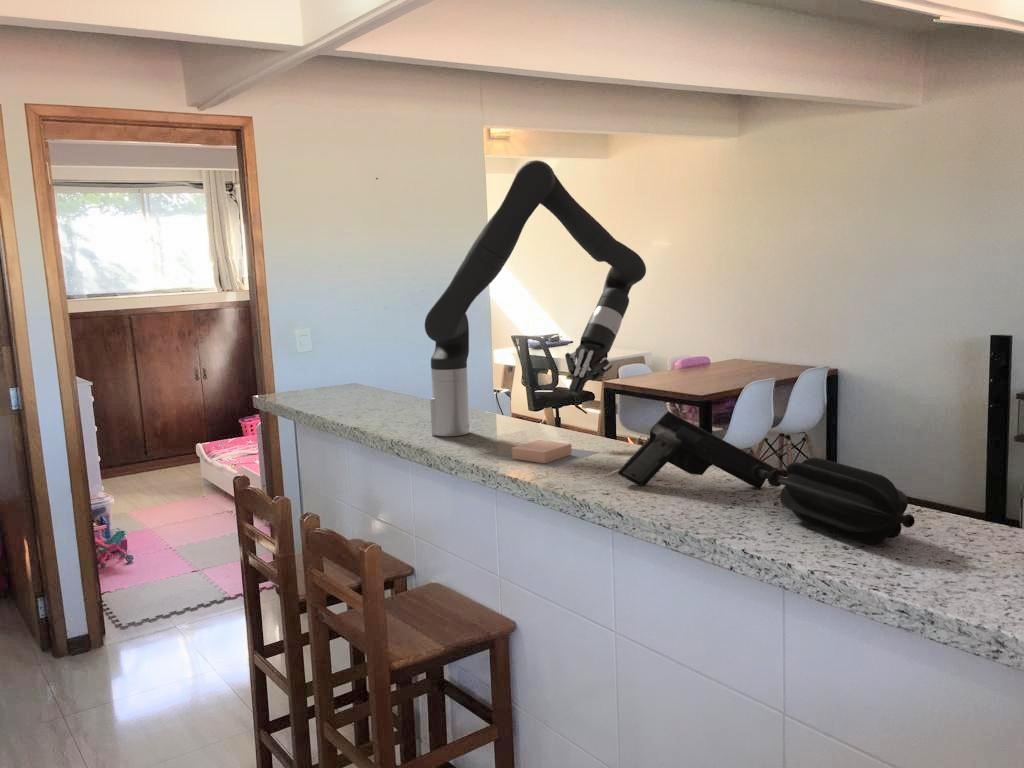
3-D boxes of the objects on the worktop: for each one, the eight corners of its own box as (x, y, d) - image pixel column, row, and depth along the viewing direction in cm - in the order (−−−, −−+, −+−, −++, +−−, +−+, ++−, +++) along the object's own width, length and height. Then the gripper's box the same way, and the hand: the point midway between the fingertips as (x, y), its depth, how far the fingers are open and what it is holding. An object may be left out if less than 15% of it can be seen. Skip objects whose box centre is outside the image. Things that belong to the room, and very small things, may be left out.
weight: (936, 551, 119) (939, 482, 118) (882, 562, 116) (884, 491, 114) (778, 495, 150) (778, 440, 149) (731, 502, 147) (731, 446, 145)
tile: (539, 450, 192) (512, 459, 184) (538, 439, 192) (511, 447, 184) (571, 455, 187) (545, 464, 179) (571, 443, 186) (544, 452, 179)
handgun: (731, 536, 157) (772, 468, 154) (617, 473, 160) (655, 405, 156) (731, 532, 159) (771, 465, 156) (618, 470, 162) (655, 403, 159)
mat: (496, 459, 186) (496, 458, 186) (541, 446, 199) (541, 444, 199) (555, 468, 176) (555, 467, 176) (599, 453, 189) (598, 452, 189)
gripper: (572, 318, 203) (544, 381, 198) (618, 324, 194) (589, 390, 190) (586, 334, 208) (559, 395, 204) (631, 340, 200) (604, 405, 195)
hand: (574, 393), depth 197 cm, fingers closed
